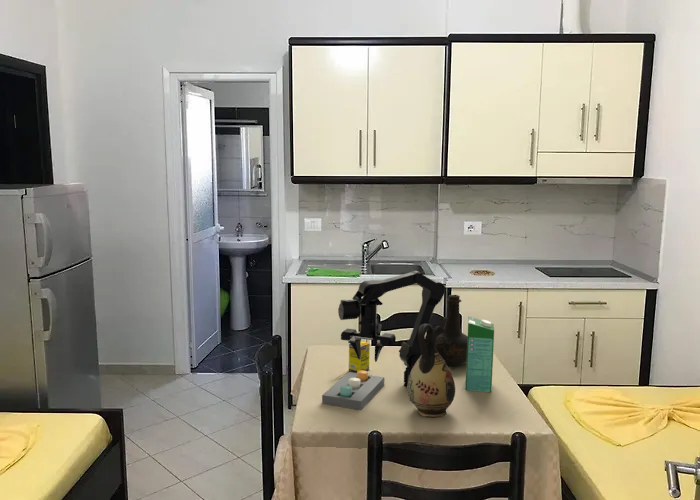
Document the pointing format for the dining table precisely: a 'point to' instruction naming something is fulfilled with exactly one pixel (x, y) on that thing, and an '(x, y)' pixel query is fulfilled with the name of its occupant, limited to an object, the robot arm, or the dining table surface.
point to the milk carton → (479, 355)
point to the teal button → (346, 391)
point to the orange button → (362, 375)
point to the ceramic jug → (430, 376)
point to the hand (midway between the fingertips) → (367, 360)
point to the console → (353, 392)
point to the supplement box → (354, 362)
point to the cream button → (354, 383)
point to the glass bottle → (452, 336)
